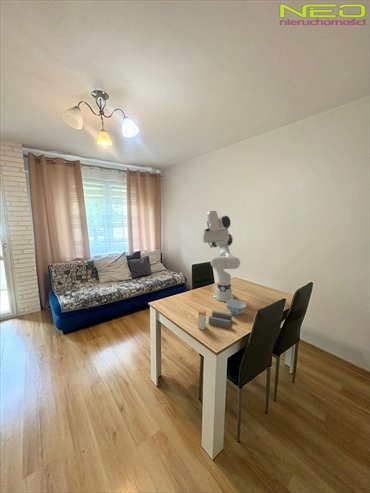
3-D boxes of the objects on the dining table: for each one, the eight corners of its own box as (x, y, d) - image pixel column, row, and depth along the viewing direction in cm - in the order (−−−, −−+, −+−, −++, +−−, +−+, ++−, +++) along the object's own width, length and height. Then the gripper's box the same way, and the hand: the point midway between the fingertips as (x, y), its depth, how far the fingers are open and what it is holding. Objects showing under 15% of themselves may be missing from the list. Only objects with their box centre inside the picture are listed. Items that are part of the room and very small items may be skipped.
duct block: (212, 316, 150) (213, 310, 149) (231, 320, 145) (232, 314, 144) (208, 324, 139) (208, 318, 138) (228, 328, 133) (229, 322, 133)
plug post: (199, 325, 137) (200, 308, 135) (205, 326, 135) (206, 310, 133) (198, 328, 133) (198, 311, 131) (203, 329, 132) (204, 312, 130)
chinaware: (236, 320, 145) (237, 309, 144) (221, 311, 157) (222, 302, 156) (249, 314, 154) (250, 304, 152) (234, 307, 166) (234, 298, 164)
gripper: (226, 230, 161) (229, 246, 157) (201, 232, 160) (204, 249, 156) (228, 227, 155) (231, 244, 151) (202, 230, 154) (205, 247, 150)
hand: (217, 247), depth 154 cm, fingers open, 8 cm apart
